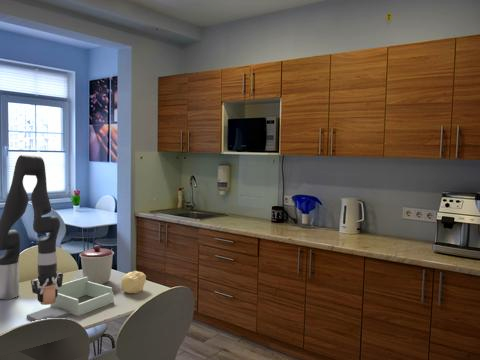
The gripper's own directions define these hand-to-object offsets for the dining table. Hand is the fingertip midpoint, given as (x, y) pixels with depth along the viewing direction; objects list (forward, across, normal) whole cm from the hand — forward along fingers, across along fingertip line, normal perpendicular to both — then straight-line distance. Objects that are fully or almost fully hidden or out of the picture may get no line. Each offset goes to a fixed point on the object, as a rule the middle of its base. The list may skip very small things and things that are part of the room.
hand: (47, 299), depth 176 cm
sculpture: (+8, -44, +7) cm, 45 cm away
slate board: (+8, 0, 0) cm, 8 cm away
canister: (+8, -43, -20) cm, 48 cm away
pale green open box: (+8, -18, 0) cm, 20 cm away
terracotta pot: (+1, 0, 0) cm, 1 cm away
